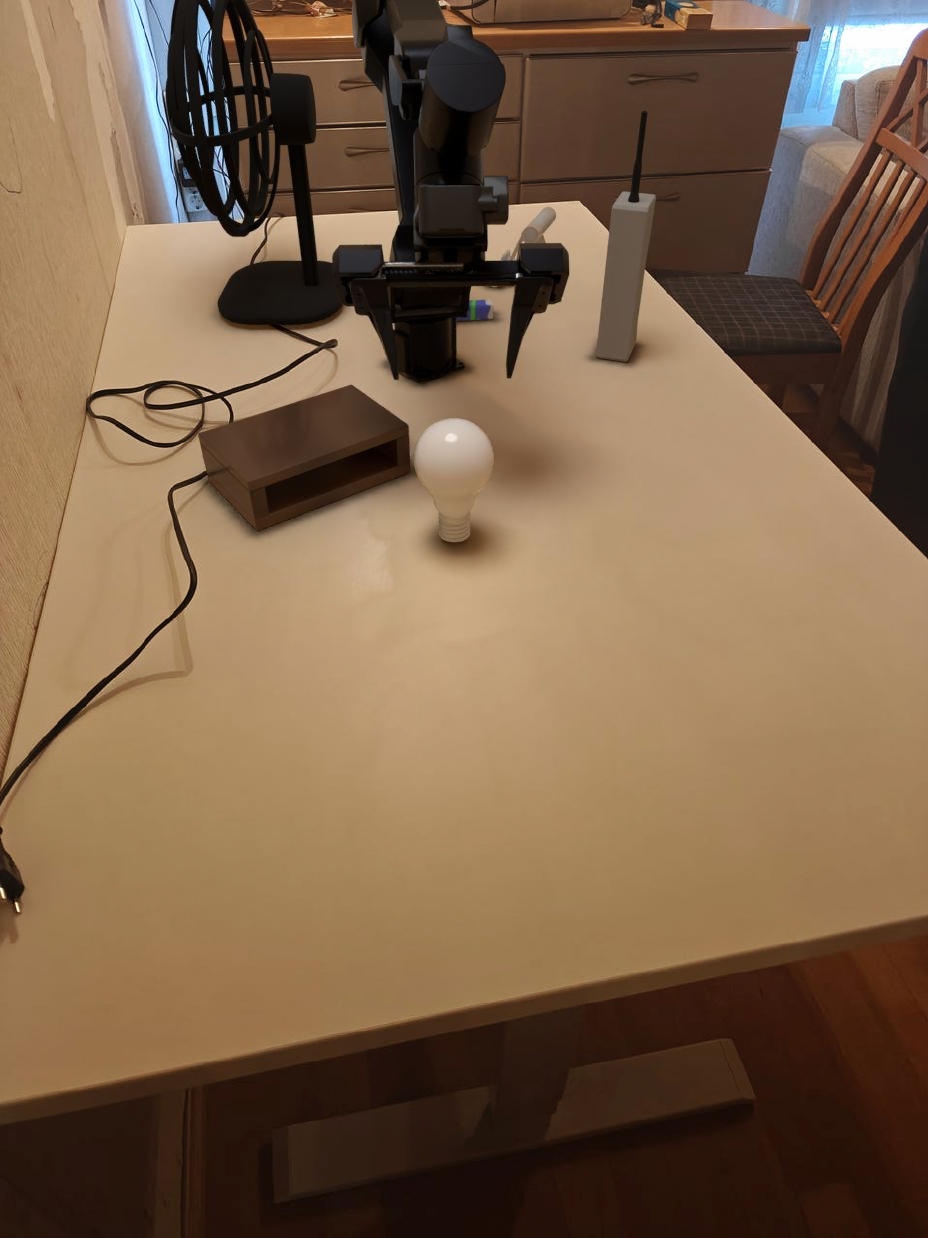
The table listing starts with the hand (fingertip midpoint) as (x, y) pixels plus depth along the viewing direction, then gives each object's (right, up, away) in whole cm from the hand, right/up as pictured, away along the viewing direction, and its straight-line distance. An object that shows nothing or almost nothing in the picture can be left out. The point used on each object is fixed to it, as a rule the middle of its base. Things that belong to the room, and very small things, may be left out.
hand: (452, 377), depth 70 cm
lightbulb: (0, -13, +4) cm, 13 cm away
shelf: (-13, -6, +11) cm, 18 cm away
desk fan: (-23, +22, +43) cm, 54 cm away
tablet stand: (+9, +27, +49) cm, 56 cm away
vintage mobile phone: (+19, +12, +31) cm, 38 cm away
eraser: (+1, +18, +39) cm, 43 cm away
